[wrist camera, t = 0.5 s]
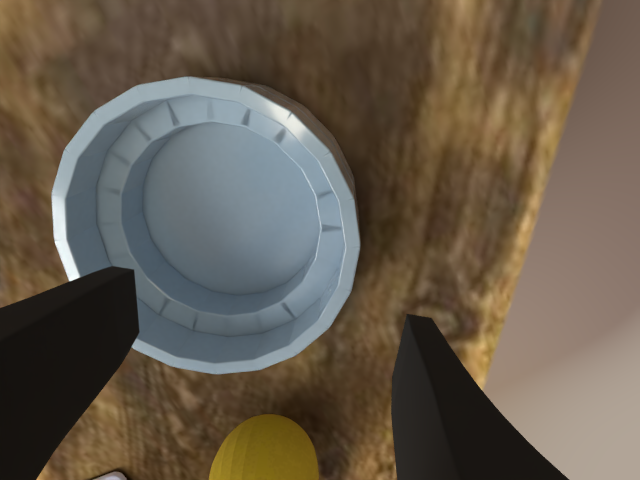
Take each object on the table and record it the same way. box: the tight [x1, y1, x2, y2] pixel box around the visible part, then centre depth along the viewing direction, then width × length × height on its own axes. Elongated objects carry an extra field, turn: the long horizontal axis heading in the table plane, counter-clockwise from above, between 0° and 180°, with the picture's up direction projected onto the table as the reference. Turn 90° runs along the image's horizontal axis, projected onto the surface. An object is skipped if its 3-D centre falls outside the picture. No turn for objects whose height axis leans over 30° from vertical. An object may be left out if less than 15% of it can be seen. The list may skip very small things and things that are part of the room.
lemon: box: [209, 414, 319, 480], centre depth 23 cm, size 6×6×8 cm
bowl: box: [52, 76, 361, 374], centre depth 20 cm, size 12×12×5 cm
